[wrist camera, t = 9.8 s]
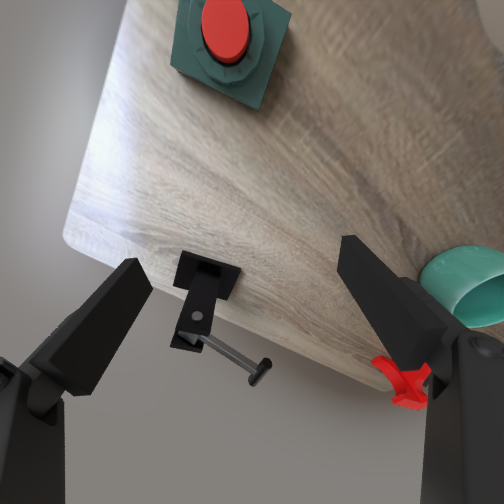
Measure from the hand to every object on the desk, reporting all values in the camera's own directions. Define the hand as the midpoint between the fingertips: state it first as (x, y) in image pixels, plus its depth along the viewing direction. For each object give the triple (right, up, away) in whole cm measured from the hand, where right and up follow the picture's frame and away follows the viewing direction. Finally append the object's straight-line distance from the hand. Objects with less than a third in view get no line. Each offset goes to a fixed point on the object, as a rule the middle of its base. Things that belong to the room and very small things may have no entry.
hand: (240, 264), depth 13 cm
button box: (-2, +23, +8) cm, 24 cm away
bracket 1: (-8, -4, +25) cm, 26 cm away
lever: (-3, -12, +15) cm, 20 cm away
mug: (+40, -3, +26) cm, 47 cm away
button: (-2, +21, +5) cm, 22 cm away
